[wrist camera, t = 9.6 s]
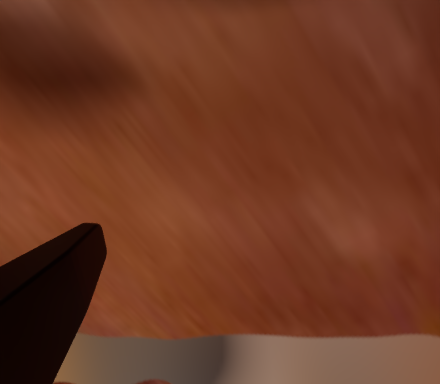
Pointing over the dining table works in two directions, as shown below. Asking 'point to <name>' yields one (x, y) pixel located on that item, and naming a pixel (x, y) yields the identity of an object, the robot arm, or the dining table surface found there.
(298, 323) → the dining table surface
